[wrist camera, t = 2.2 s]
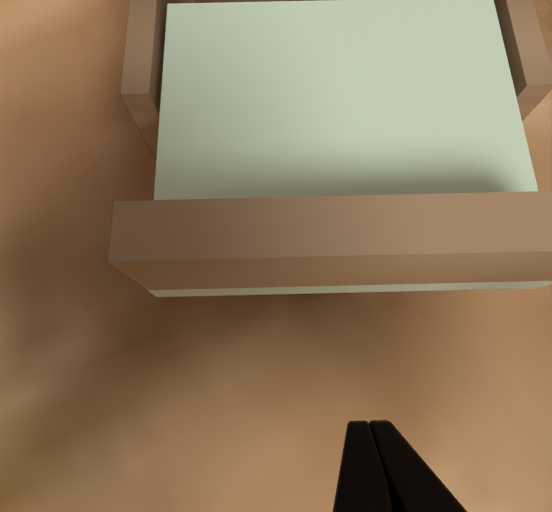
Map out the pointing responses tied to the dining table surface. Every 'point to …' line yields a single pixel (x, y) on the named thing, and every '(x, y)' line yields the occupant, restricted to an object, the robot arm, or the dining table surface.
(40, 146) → the dining table surface
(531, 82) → the walnut box
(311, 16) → the lid
